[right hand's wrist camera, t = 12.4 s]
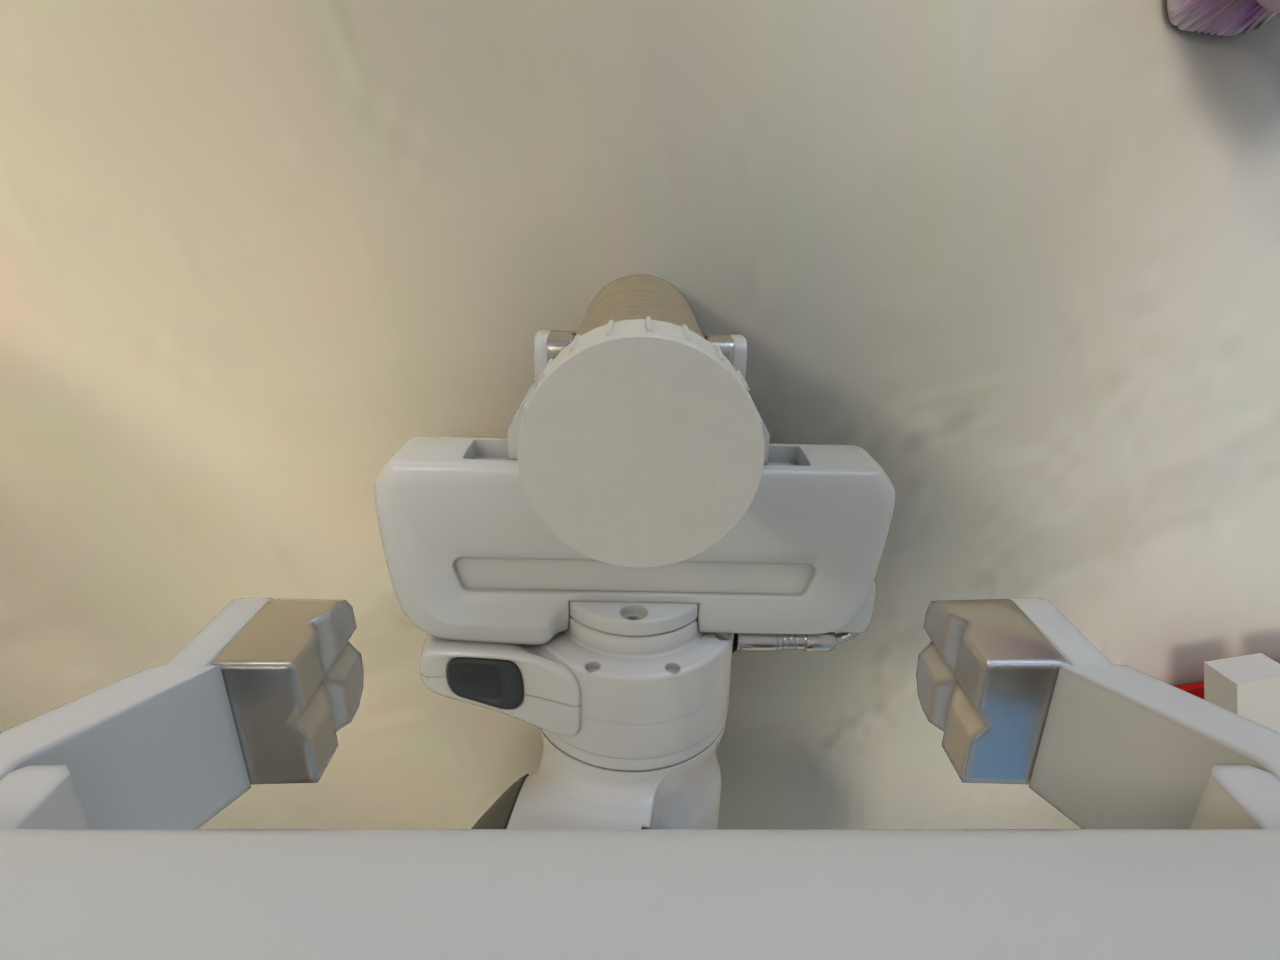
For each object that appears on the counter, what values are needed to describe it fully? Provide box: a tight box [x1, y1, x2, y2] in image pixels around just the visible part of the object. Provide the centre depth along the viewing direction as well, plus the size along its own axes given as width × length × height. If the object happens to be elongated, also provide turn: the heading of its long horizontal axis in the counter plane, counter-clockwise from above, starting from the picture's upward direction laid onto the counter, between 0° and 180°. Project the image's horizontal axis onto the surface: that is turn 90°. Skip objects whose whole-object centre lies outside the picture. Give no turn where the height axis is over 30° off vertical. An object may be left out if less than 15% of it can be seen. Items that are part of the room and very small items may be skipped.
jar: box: [578, 275, 704, 338], centre depth 25 cm, size 5×5×16 cm
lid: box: [517, 316, 764, 568], centre depth 18 cm, size 6×6×2 cm
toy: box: [1174, 653, 1280, 733], centre depth 39 cm, size 12×13×30 cm
